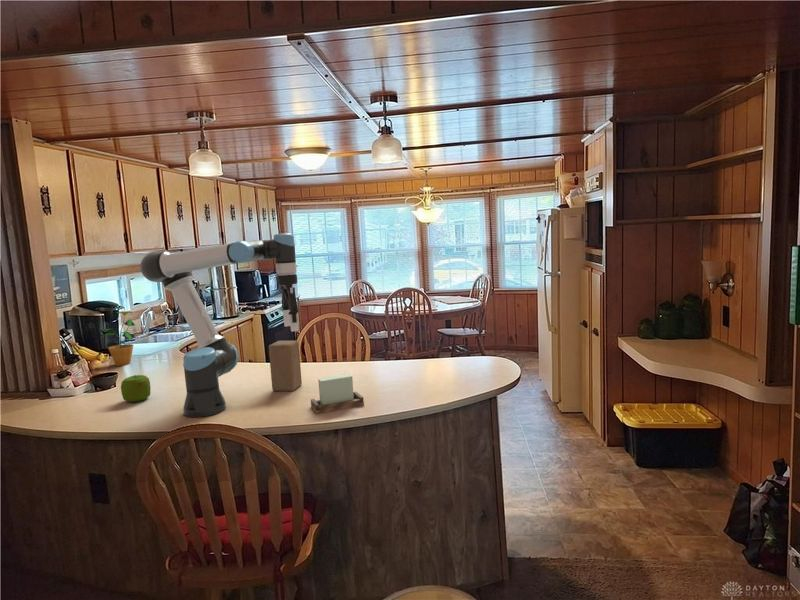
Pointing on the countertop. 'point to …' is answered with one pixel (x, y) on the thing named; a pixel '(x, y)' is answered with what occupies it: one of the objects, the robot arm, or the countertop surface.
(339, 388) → the rectangular block
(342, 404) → the track
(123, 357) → the potted plant
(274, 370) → the wooden block
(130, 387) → the apple
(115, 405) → the countertop surface
